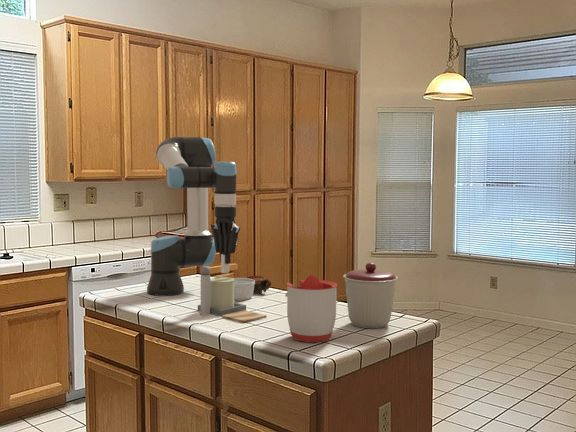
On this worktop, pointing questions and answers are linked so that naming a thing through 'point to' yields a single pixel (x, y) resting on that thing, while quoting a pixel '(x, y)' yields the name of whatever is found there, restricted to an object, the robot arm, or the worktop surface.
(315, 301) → the citrus juicer
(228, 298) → the can
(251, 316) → the plate
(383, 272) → the canister
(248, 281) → the ramekin
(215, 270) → the orange bar
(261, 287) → the pottery mug
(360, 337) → the worktop surface
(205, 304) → the socket
